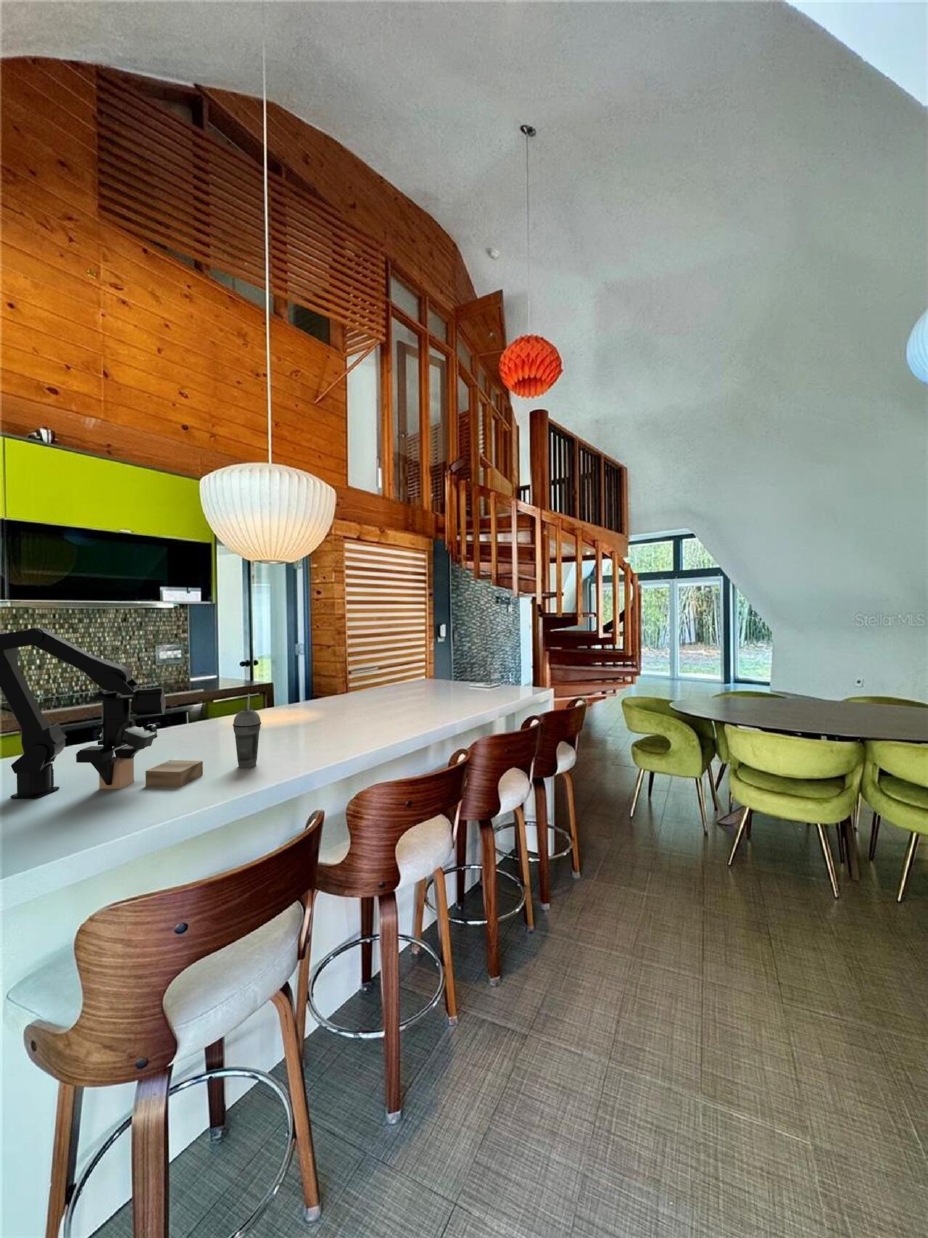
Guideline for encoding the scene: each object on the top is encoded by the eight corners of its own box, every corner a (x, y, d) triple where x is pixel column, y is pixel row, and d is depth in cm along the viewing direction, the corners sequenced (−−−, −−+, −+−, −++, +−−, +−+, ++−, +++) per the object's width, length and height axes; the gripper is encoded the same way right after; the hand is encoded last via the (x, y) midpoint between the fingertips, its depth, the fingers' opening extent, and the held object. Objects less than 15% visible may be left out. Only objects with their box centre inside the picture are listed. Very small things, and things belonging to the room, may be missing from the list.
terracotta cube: (120, 789, 122) (119, 764, 122) (99, 789, 122) (99, 764, 122) (133, 782, 127) (133, 758, 127) (114, 782, 127) (113, 758, 127)
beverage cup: (253, 760, 145) (252, 690, 145) (266, 765, 141) (266, 693, 140) (227, 766, 140) (227, 693, 139) (241, 771, 135) (240, 696, 135)
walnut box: (180, 788, 124) (180, 771, 123) (145, 787, 124) (145, 771, 124) (202, 776, 132) (202, 761, 132) (169, 775, 133) (169, 760, 133)
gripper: (122, 726, 115) (123, 795, 115) (171, 710, 133) (172, 769, 134) (73, 726, 115) (74, 795, 115) (129, 710, 134) (130, 769, 134)
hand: (116, 781), depth 125 cm, fingers closed on terracotta cube, 5 cm apart
